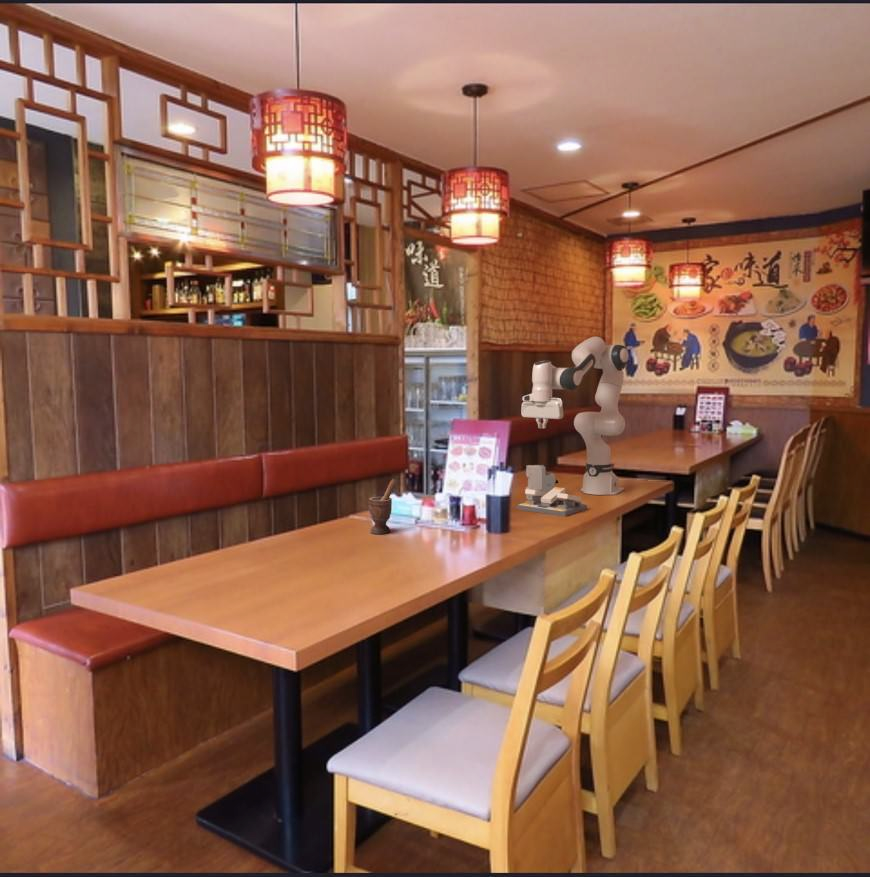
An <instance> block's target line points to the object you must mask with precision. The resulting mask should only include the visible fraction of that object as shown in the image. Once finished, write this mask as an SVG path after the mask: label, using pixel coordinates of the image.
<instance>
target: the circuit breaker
mask: <svg viewBox="0 0 870 877" xmlns="http://www.w3.org/2000/svg"><path fill="white" fill-rule="evenodd" d="M525 470H526V471H525V475H526V478H528V479H527V486H526V487H525V490H526V489H530V490H537V491H542V492H547V493H548V492H549V491H551V490H552V489H553V488H555V487H556V484H559V480H558V479H556V475H555V474H554V473H553V472H547V470H546V466H544V464H533V465H531V464H529V465H526V468H525ZM532 496H536V495H531V494H525V498H526V499H527V501H532ZM541 497H542V496H541Z"/></svg>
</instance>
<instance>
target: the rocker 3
mask: <svg viewBox="0 0 870 877" xmlns="http://www.w3.org/2000/svg"><path fill="white" fill-rule="evenodd" d="M557 498H558V499H562V500H571V501H576V502H581V503H582V497H581V496H578V495H573V494H568V493H557Z"/></svg>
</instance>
